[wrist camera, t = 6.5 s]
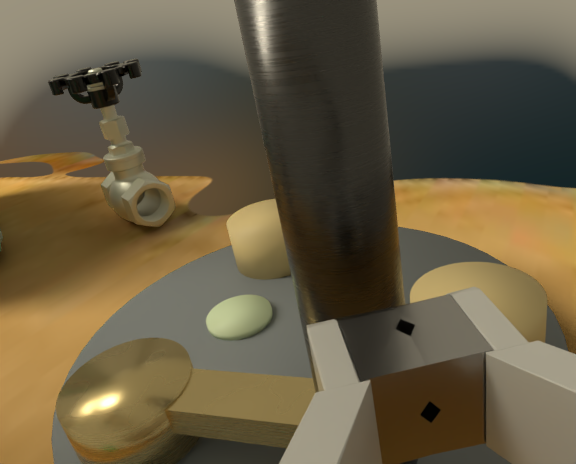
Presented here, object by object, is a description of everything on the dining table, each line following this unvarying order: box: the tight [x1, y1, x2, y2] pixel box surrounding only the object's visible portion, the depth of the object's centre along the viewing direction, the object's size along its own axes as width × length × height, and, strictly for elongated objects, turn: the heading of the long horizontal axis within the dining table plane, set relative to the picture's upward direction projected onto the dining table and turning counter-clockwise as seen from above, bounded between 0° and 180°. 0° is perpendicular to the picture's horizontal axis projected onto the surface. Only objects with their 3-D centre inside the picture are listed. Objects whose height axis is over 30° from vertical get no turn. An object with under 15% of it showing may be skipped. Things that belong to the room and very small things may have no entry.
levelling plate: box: [52, 199, 568, 464], centre depth 21 cm, size 20×20×4 cm
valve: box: [48, 59, 176, 227], centre depth 39 cm, size 7×7×12 cm
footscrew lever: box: [56, 0, 418, 464], centre depth 13 cm, size 12×4×16 cm, turn 73°
